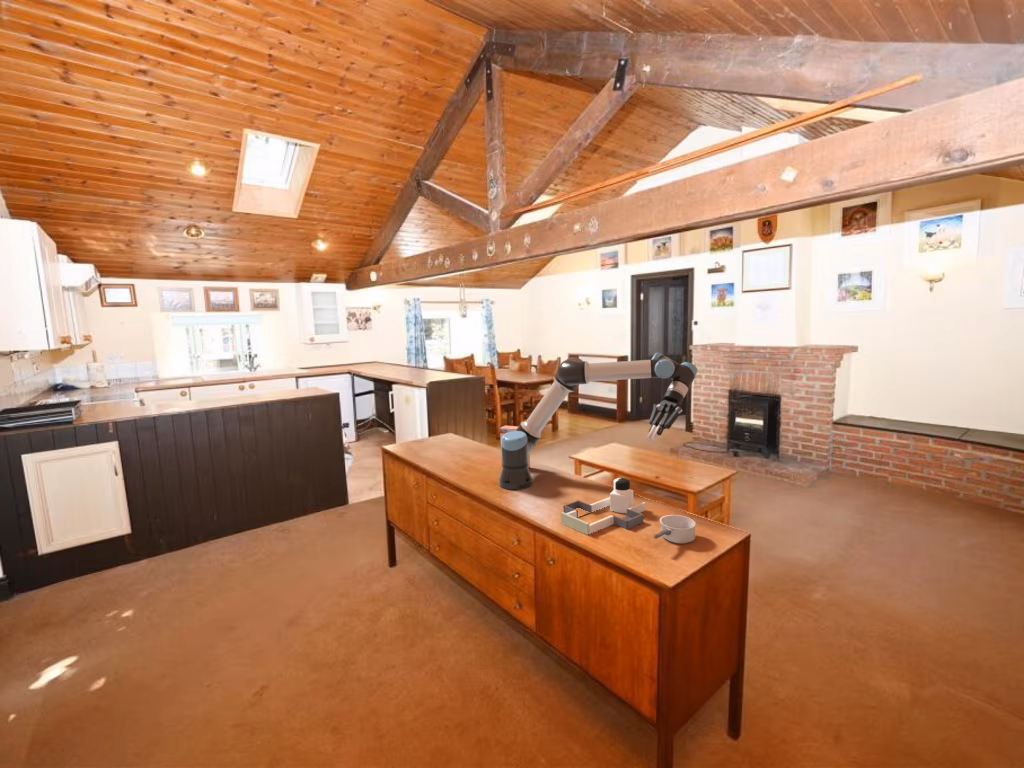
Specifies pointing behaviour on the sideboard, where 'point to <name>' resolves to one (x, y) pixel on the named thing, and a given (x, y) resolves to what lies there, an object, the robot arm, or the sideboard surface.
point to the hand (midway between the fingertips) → (650, 440)
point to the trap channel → (626, 522)
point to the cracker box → (509, 429)
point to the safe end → (575, 523)
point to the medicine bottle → (621, 496)
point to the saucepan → (677, 528)
